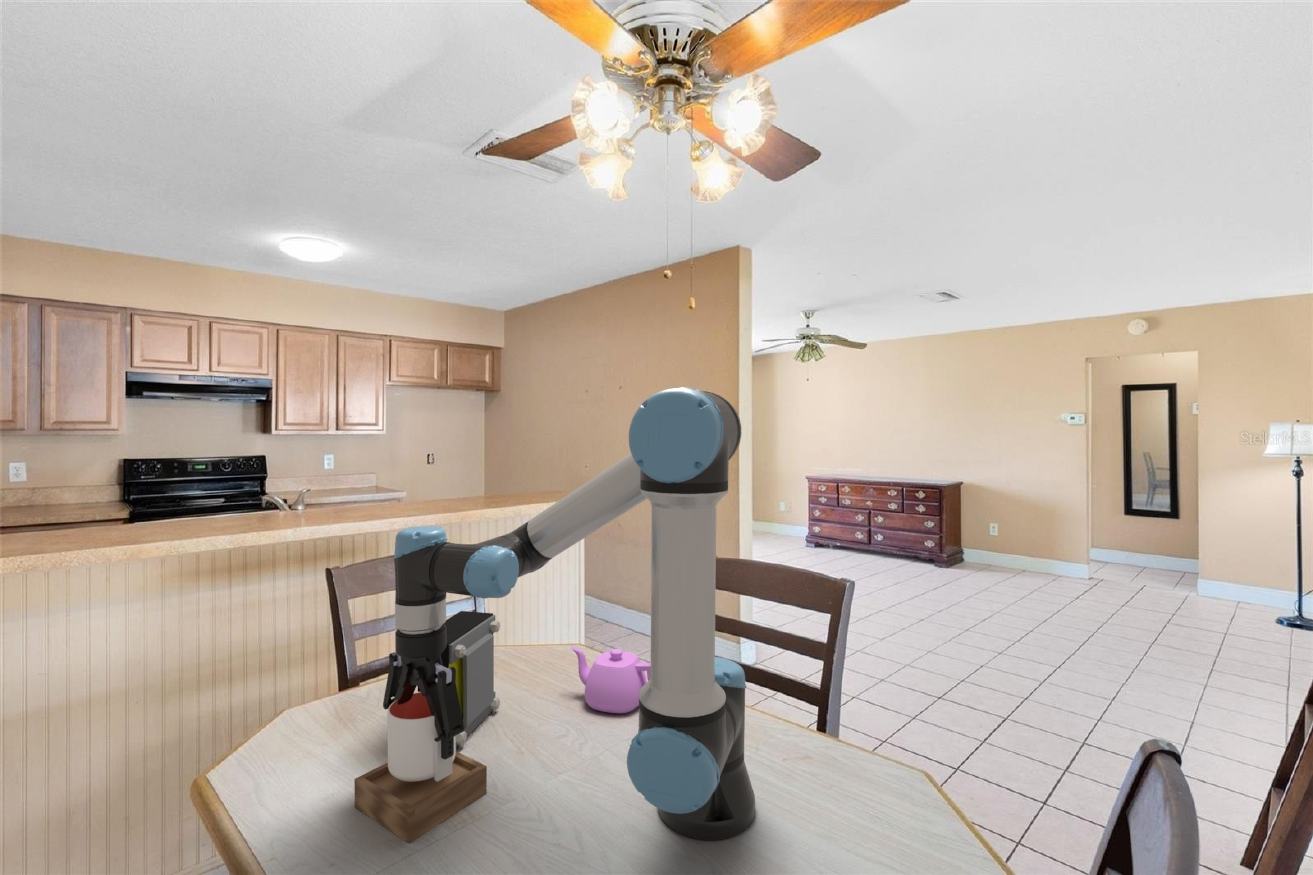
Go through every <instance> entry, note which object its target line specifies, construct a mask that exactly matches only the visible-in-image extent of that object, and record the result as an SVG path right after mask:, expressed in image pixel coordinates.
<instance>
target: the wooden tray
mask: <svg viewBox="0 0 1313 875" xmlns="http://www.w3.org/2000/svg"><path fill="white" fill-rule="evenodd" d="M487 776H488V775H487V765H485V764H483V763H482V762H479V761H477V760H475V759H472V758H471V757H469V756H467V755H465V754H463V753H461V752H458V751H457V750H456V755H455V759H454V761H453V763H452V774H450V775H448V776H447V777H445V778H443V779H441V780H440V781H438V782H437V781H435V780H434V777H433V778H430V779H427V780H422V781H414V782H409V781H402V780H399V779H397V778H395V777H394V776H393V775H392V774H391V773H390V771H389V769H388V761H387V762H385V763H383V764H382V765H380V766H377V767H376V768H374V769H372V770H370V771H367V772H366V773H363V774H362V775H360V776H358V777H356V778H354V808H355V809H357V810H358V811H360V812H361V813H362V814H364V815H366V816H367V817H368V818H370V819H372V820H373V821H375V822H376V823H378V824H379V825H380V826H382V827H384V828H385V829H386V830H388V831H389V832H391V833H393V834H394V835H396V836H397V837H399V838H400V839H402V840H403V841H404V842H406V843H408V844H410V843H412V842H413V841H415V840H416V839H418V838H419V837H421V836H423V835H424V834H425V833H427V832H429V831H430V830H432V829H434V828H435V827H436V826H438V825H440V824H441V823H443V822H444V821H446V820H447V819H449V818H451V817H452V816H454V815H456V814H457V813H459V812H460V811H461V810H463V809H464V808H466V807H467V806H469V805H471V804H472V803H474V802H476V801H477V800H479V799H481V798H482V797H483V796H485V795H487V793H488V792H487V791H488V790H487V786H488V785H487V782H488V781H487V780H488V779H487Z"/></svg>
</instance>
